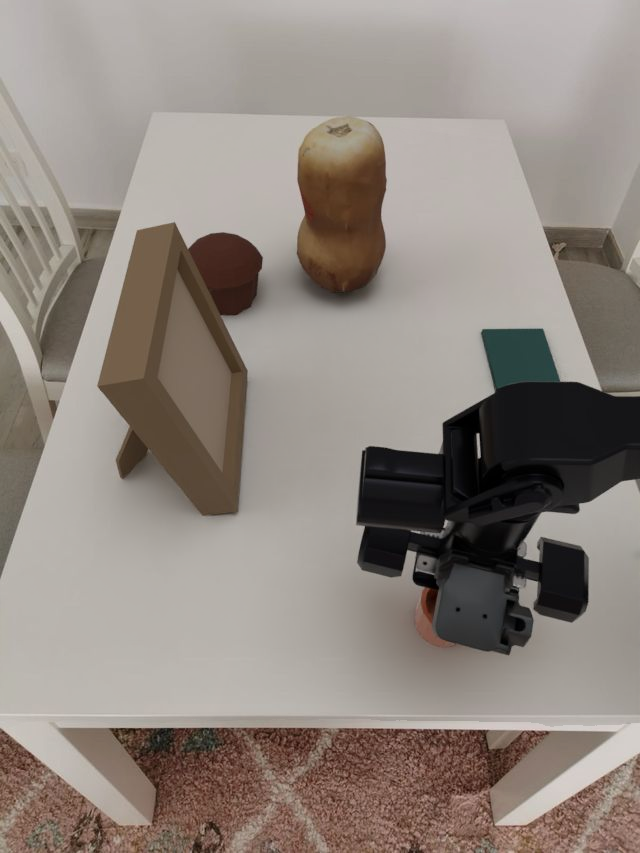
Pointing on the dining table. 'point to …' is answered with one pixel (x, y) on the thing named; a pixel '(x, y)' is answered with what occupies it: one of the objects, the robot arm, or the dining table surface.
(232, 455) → the photo frame
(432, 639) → the pencil cup
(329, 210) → the butternut squash
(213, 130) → the dining table surface
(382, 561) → the robot arm
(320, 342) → the dining table surface
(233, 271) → the muffin
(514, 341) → the mat
